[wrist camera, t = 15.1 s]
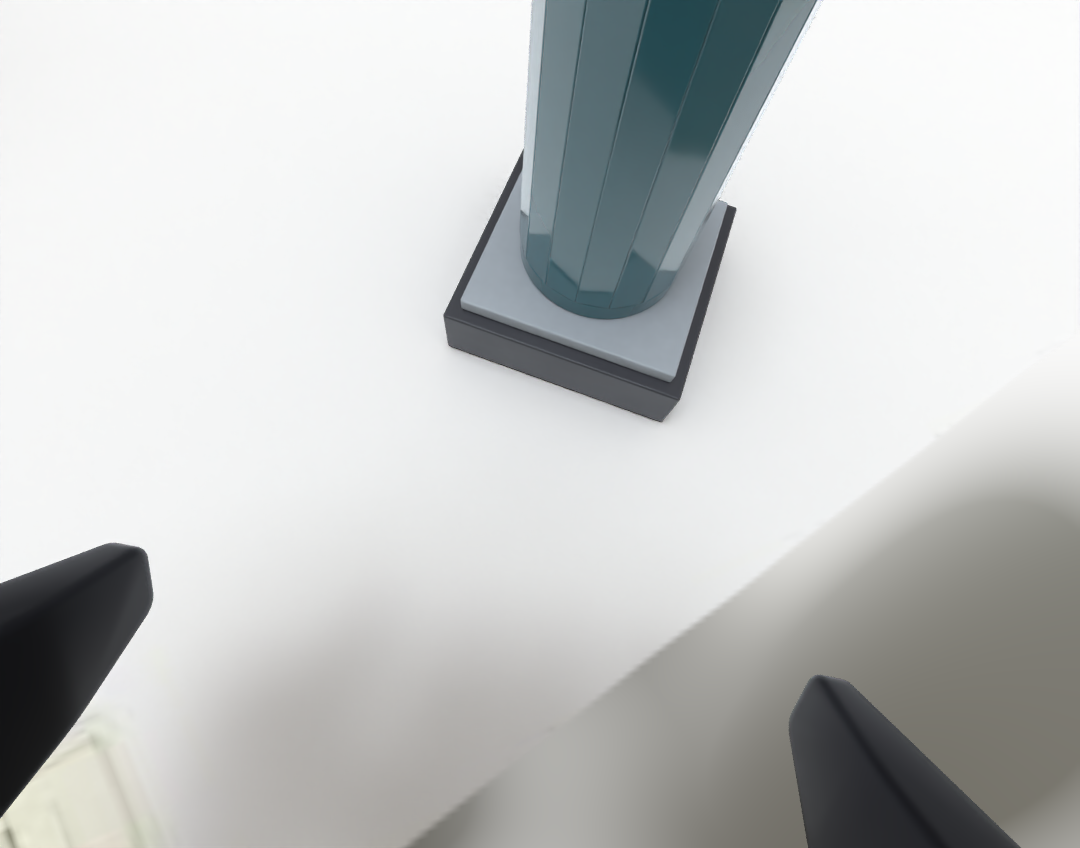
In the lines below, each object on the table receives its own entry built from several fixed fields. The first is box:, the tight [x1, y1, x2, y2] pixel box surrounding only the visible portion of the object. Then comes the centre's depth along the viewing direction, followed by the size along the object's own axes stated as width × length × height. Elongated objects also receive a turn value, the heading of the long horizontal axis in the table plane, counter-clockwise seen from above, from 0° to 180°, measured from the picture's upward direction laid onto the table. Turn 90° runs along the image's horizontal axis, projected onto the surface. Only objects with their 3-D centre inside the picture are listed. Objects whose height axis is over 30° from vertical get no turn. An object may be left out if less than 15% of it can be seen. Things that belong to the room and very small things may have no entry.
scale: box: [444, 149, 736, 422], centre depth 23 cm, size 9×9×3 cm
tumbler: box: [519, 0, 823, 319], centre depth 15 cm, size 6×6×13 cm
